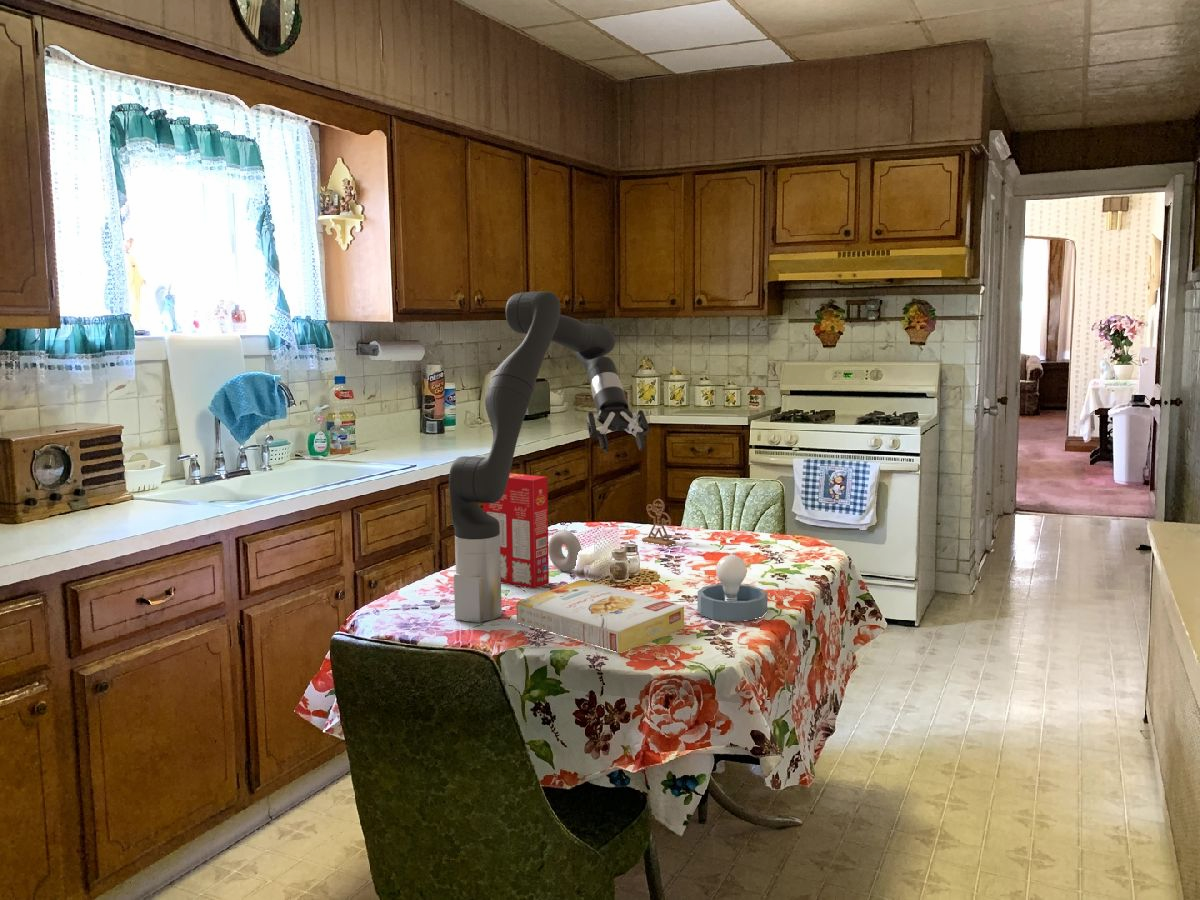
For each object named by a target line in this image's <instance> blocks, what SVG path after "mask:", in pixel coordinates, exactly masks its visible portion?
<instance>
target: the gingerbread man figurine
mask: <svg viewBox="0 0 1200 900" xmlns="http://www.w3.org/2000/svg"><path fill="white" fill-rule="evenodd" d="M657 501H659V502H660V503H656V502H657ZM664 502H665V501H663V500H662V499H660V498H658V499H655V500H653V503H652V504H650V503H649V504H647V505H646V511H647V514H648V516H649V517H650V518H652V519H653V525H652V528H651V529H650V531H649V534H648V535H647V536H645V537H642V538H641V542H642V541H643V542H642V543H646V542H648V543H647V544H651V543H654V544H653V545H656V544H659V545H658V546H661V545H665V546H664V547H666V546H668V547H670V546H669V545H671V546H673V545H672V544H675V545H676V543H677V542H676V540H674V539H670V537H669V535H668V533H667V531H666V528H665V526H666V527H669V526H671V525H672V519H671V517H670V515H669V514H668V513H667V512H665V511H664V510H665V506H666V505H665V503H664ZM658 507H659V508H658ZM650 511H652V512H653V513H655V516H654V515H653V514H652V513H651V512H650ZM662 515H665V516H666V517H667V519H666V518H661V516H662ZM656 516H657V517H656ZM660 519H661V520H660ZM656 526H657V527H658V528H657V530H656V532H655V533H654V530H655V527H656ZM659 527H661V528H662V530H663V533H664V535H663V534H662V531H661V528H659ZM658 534H659V537H657V535H658Z"/></svg>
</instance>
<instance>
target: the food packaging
mask: <svg viewBox="0 0 1200 900" xmlns="http://www.w3.org/2000/svg"><path fill="white" fill-rule="evenodd" d="M548 498H549V496H548V476H544V475H543V476H542V475H533V474H532V475H531V474H523V473H515V472H514V473H513V472H510V475H509V479H508V483H507V486H506V489H505V492H504V494H503V496H502V497H501V499H500V500H499V501H498V502H496V503H483V505H482V506H483V507H482V510H483V511H484V512H486V513H487V514H489V515H491V516H492V517H494V518H496V519H497V520H498V521H499V524H500V566H501V582H503V583H502V584H507V583H509V584H508V585H512V584H514V585H513V586H517V585H519V587H523V586H526V587H525V588H528V587H531V588H530V589H533V588H536V589H538V588H540V586H541V587H543V585H544V586H546V585H548V583H549V584H550V574H549V573H550V571H549V569H550V568H549V565H550V564H549V559H550V557H549V552H548V545H549V506H548V505H549V503H548ZM545 584H546V585H545ZM537 587H538V588H537Z"/></svg>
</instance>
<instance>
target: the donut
mask: <svg viewBox="0 0 1200 900" xmlns="http://www.w3.org/2000/svg"><path fill="white" fill-rule="evenodd" d="M563 545H564V546H565V547H566V549H567V555H566V556H565V554H564V553H563V549H562V548H563ZM580 550H581V551H582V545H581V543H580V541H579V539H578V538H577V536H576V535H575V534H574V533H573V532H572V531H568V530H557V531H556V532H554V533H553V534H552V536H551V537H550V539H549V540H548V557H549V559H550V561H551V563H552V564H553V566H554V567H555V568H557V569H558V570H560V571H562V572H570V571H573V570H574V569H576V568H575V566H576V560H577V555H578V552H579V551H580Z"/></svg>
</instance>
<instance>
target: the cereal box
mask: <svg viewBox="0 0 1200 900" xmlns="http://www.w3.org/2000/svg"><path fill="white" fill-rule="evenodd" d="M516 623H521V624H524V625H527V626H531V627H535V628H539V629H543V630H546V631H550V632H553V633H556V634H559V635H563V636H567V637H570V638H573V639H577V640H580V641H583V642H586V643H589V644H593V645H597V646H600V647H603V648H607V649H610V650H613V651H616V652H618V653H621V652H624V651H626V650H629V649H631V650H633V649H632V648H634V649H636V648H635V647H637V648H639V647H641V645H642V646H644V645H646V643H647V644H649V643H651V641H652V642H654V641H656V640H655V639H657V640H659V639H661V638H663V636H664V637H666V636H669V635H671V634H674V633H676V632H679V631H681V630H683V629H685V605H682V604H678V603H674V602H669V601H666V600H662V599H660V598H659V599H658V598H655V597H652V596H647V595H643V594H639V593H635V592H632V591H628V590H623V589H621V588H620V589H619V588H617V587H612V586H609V585H605V584H600V583H598V582H593V581H588V580H584V579H579V580H576V581H574V582H571V583H568V584H565V585H562V586H560V587H556V588H553V589H551V590H547V591H544V592H541V593H539V594H535V595H532V596H530V597H529V596H528V597H526V598H524V599H520V600H518V601H516ZM524 625H523V626H524ZM527 626H526V627H527ZM680 629H681V630H680ZM678 630H679V631H678ZM675 631H676V632H675ZM673 632H674V633H673ZM670 633H671V634H670ZM668 634H669V635H668ZM665 635H666V636H665ZM660 637H661V638H660ZM658 638H659V639H658ZM653 640H654V641H653ZM643 644H644V645H643ZM638 646H639V647H638ZM629 651H630V650H629ZM626 652H627V651H626ZM618 653H617V654H618ZM624 653H625V652H624ZM621 654H622V653H621Z"/></svg>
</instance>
